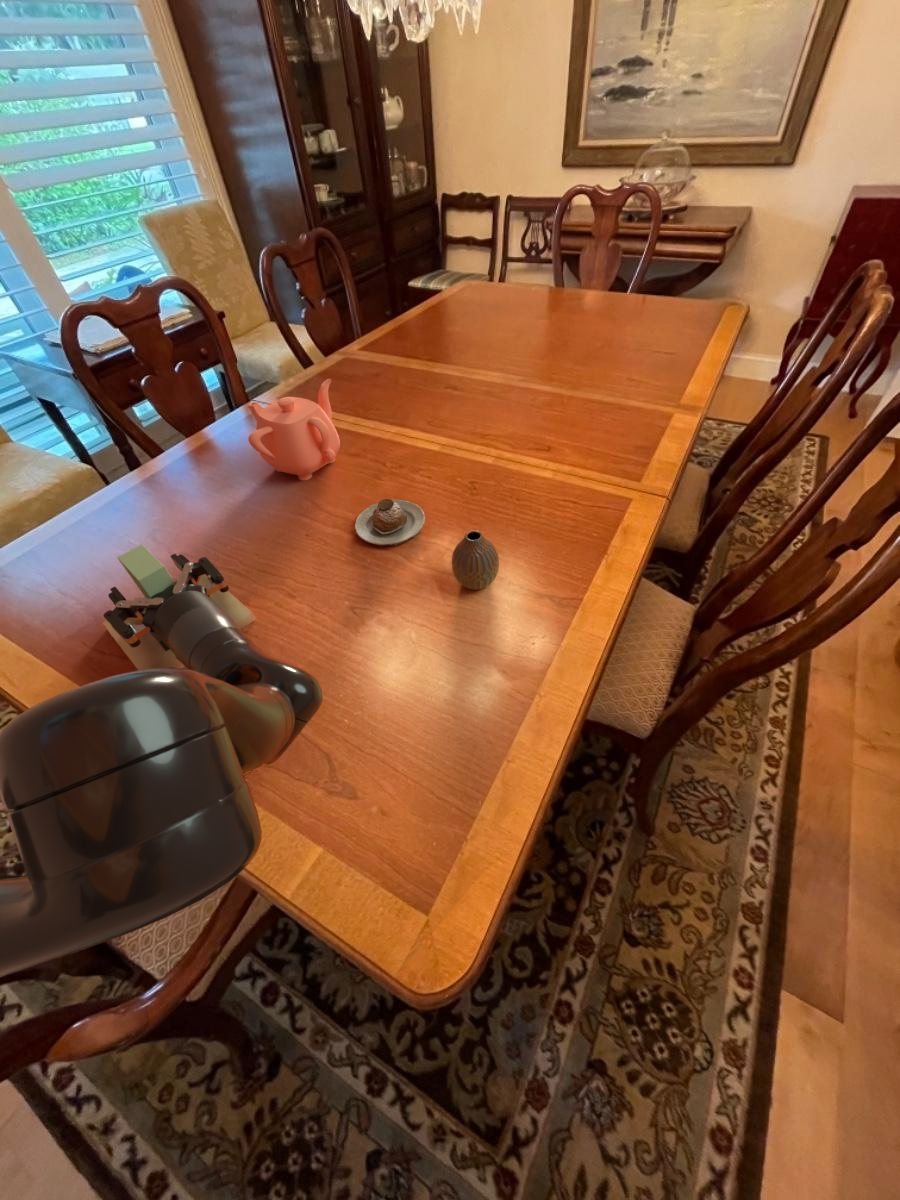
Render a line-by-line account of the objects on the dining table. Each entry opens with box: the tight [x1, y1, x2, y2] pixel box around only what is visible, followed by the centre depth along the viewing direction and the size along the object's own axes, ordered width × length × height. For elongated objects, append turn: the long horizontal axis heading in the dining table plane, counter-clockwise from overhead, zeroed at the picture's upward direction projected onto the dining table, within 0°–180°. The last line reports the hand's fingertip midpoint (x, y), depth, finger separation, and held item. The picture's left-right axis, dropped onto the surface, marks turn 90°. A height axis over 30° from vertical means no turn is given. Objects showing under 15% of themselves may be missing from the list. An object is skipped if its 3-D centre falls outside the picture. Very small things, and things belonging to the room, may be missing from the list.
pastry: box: [354, 498, 426, 547], centre depth 90 cm, size 12×12×5 cm
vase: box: [451, 529, 500, 591], centre depth 77 cm, size 7×7×9 cm
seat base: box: [101, 574, 256, 671], centre depth 78 cm, size 16×16×4 cm
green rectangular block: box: [117, 544, 176, 599], centre depth 74 cm, size 4×7×11 cm, turn 46°
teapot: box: [247, 378, 341, 481], centre depth 103 cm, size 16×17×14 cm
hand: (146, 575), depth 74 cm, fingers open, 8 cm apart
